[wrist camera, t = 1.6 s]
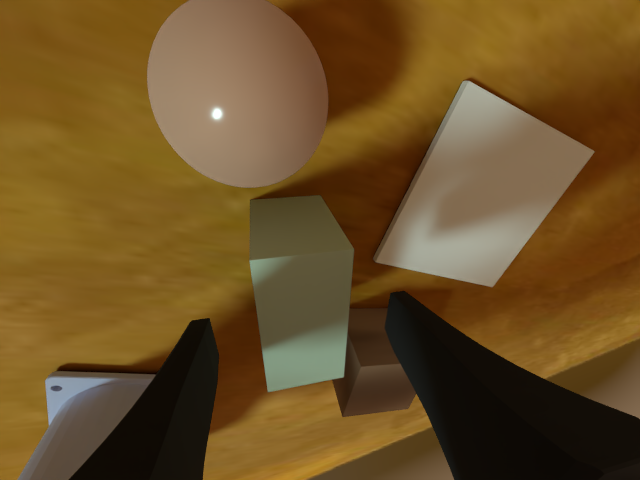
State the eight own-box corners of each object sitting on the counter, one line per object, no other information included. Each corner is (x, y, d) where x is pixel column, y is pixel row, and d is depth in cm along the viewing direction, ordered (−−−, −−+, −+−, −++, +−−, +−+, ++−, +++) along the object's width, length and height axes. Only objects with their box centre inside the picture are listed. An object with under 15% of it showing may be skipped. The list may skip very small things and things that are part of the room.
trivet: (488, 283, 20) (492, 287, 20) (372, 258, 17) (375, 262, 16) (587, 150, 16) (595, 151, 16) (463, 80, 13) (469, 80, 12)
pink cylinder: (283, 164, 13) (298, 203, 9) (181, 132, 11) (139, 161, 7) (314, 60, 11) (353, 45, 7) (199, 6, 10) (158, -56, 5)
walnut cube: (380, 351, 22) (408, 408, 18) (325, 354, 20) (342, 417, 16) (397, 307, 20) (433, 361, 16) (338, 307, 18) (361, 366, 14)
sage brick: (319, 299, 18) (343, 376, 13) (263, 306, 17) (267, 392, 12) (320, 194, 14) (354, 249, 9) (250, 199, 13) (249, 260, 9)
